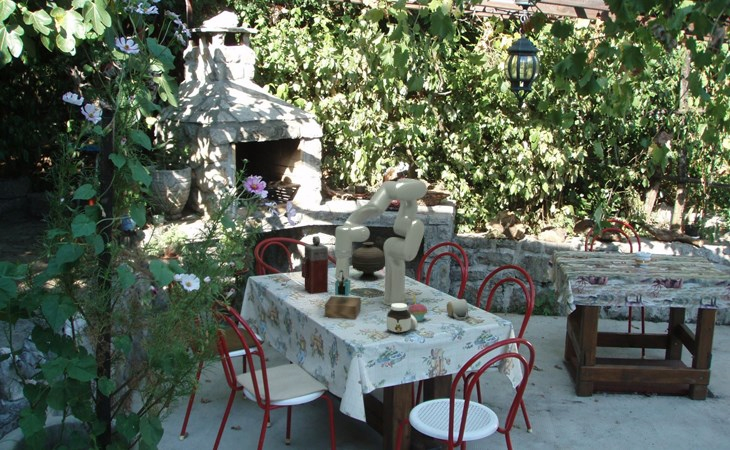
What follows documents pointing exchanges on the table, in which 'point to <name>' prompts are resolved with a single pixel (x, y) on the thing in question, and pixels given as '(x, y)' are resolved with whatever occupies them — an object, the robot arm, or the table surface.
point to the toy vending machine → (315, 267)
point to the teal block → (347, 287)
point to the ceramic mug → (457, 309)
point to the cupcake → (417, 310)
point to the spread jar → (400, 319)
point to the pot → (368, 261)
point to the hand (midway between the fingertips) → (342, 292)
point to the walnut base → (342, 307)
